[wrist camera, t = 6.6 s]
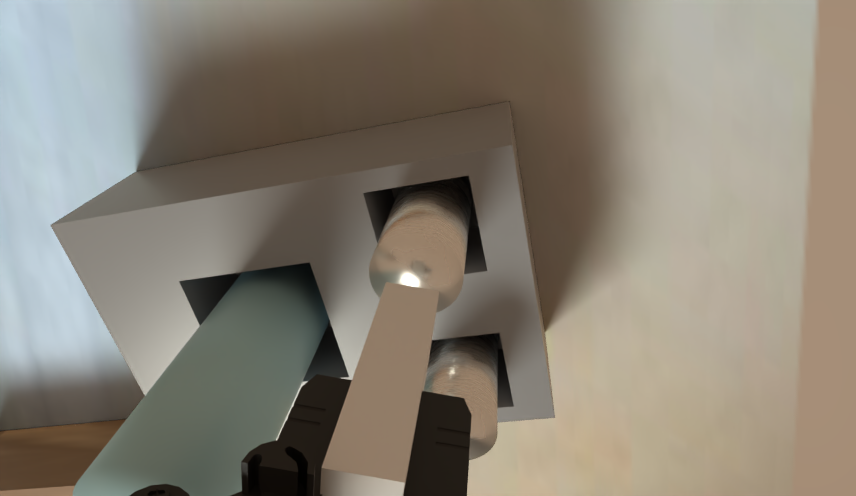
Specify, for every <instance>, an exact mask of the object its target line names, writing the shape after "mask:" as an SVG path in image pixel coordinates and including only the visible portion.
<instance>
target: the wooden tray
mask: <svg viewBox="0 0 856 496" xmlns="http://www.w3.org/2000/svg"><path fill="white" fill-rule="evenodd" d="M125 421H126V419H124V420H114V421H103V422H93V423H82V424H72V425H61V426H51V427H40V428H29V429H19V430H8V431H0V496H73V490H74V487H75V485H76V483H77V482H78V480H79V479H80V478H81V476H82V475H83V474H84V473H85V471H86V470H87V469H88V468H89V466H90V465H91V464H92V462H93V461H94V460H95V459H96V457H97V456H98V455H99V454H100V452H101V451H102V450H103V448H104V447H105V446H106V445H107V443H108V442H109V441H110V440H111V438H112V437H113V436H114V435H115V433H116V432H117V431H118V429H119V428H120V427H121V426H122V424H123V423H124V422H125Z"/></svg>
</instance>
